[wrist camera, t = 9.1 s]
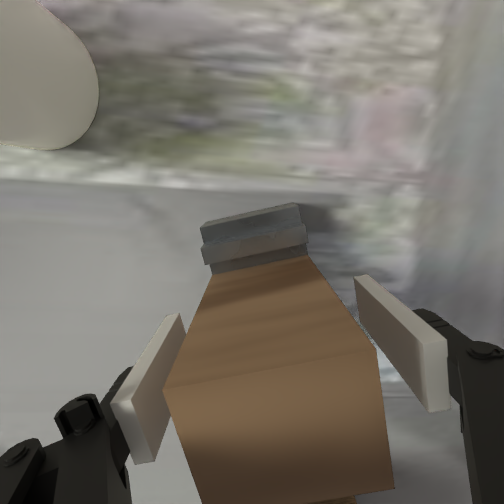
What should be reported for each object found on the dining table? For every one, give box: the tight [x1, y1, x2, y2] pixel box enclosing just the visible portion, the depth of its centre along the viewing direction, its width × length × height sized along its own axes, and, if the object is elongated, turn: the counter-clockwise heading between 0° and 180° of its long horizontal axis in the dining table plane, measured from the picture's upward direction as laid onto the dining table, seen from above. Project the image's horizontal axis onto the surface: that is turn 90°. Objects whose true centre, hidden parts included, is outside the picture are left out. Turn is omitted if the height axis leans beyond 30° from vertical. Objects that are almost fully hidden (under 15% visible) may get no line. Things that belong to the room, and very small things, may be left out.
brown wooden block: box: [162, 255, 395, 504], centre depth 13 cm, size 6×6×10 cm
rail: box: [200, 203, 357, 504], centre depth 17 cm, size 29×6×12 cm, turn 13°
